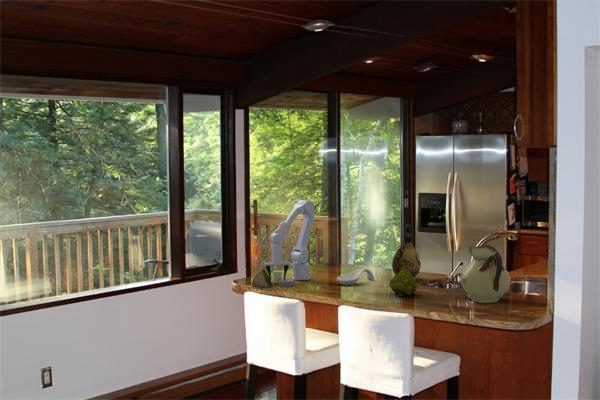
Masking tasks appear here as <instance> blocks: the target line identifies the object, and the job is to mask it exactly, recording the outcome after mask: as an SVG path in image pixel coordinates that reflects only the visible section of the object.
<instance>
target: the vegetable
mask: <svg viewBox="0 0 600 400" xmlns="http://www.w3.org/2000/svg"><path fill="white" fill-rule="evenodd" d="M388 285H389V287H390V289H391V291H393V292H394V297H404V296H406V297H409V295H412V294H413V293H415V292H417V290H418V288H419V285H420V284H419V282H417V277H413V276H412V274H410V272H408V271H407V269H405V268H404V267H402V268H401V270H400V272H399V274H397V275H396V274H395V273H394V276H393V277H392V279H389V284H388Z"/></svg>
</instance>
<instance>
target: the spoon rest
mask: <svg viewBox="0 0 600 400" xmlns="http://www.w3.org/2000/svg"><path fill="white" fill-rule="evenodd" d="M364 272H365V273H366V277H367V278H366V279H367V280H369V281H374V280H375V277H374V274H373V273H372V271H371V270H370V269H368V268H358V269H355V270H352V271H351V272H348V273H345V274H343V275H340V276H338V277H336V280H337V282H338V283H339V284H340V285H343V286H353V285H355V284H357V282H358V281H359V279H360V277H361V275H362V273H364Z"/></svg>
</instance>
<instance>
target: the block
mask: <svg viewBox="0 0 600 400" xmlns="http://www.w3.org/2000/svg"><path fill="white" fill-rule="evenodd" d="M282 273H283V272H282V270H273V271H272V284H279V279H283V277H282Z"/></svg>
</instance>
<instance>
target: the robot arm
mask: <svg viewBox="0 0 600 400" xmlns="http://www.w3.org/2000/svg"><path fill="white" fill-rule="evenodd" d="M315 209H316V205H315V204H314V202H313V200H305V199H303V200H302V199H299V200H297V201H296V202H295V204H294V205H293V207H292V210H291V211H290V213H289V214H288V216H287V218H286V219H285V220H284V221H282V222H279V225H278V227H277V228H276V229H275V230H274V232H272V233H271V234H270V236H269V238H268V240H269V242H270V245H271V261H270V262H263V267H264V268H265V270H266V272H267V274H268V276H269V278H270V279H271V280H272V275H271V271H272V270H271V268H272V267H283V279H286V277H287V276H286V275H287V273H288V270H289V267H291V264H292V277H291V279H294V281H307V280H308V281H310V279H311V273H310V263H309V262H308V260H309V250H308V246H307V245H308V243H309V239H310V235H311V231H312V228H313V224H314V222H315V221H314V220H315ZM300 215H302V217H303V221H302V224H301V225H302V226H301V229H300V232H299V235H298V238H297V239H298V240H297V243H296V245H295V246H293V249H292V251H291V252H290V256H289V259H290V260H291V262H292V263H291V262H289V261H283V242H284V241H285V236H286V234H287V233H288V232H289V231H290V229H291V225H292V224H293V223H294V221H295V220H296V219H297V217H298V216H300Z"/></svg>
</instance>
